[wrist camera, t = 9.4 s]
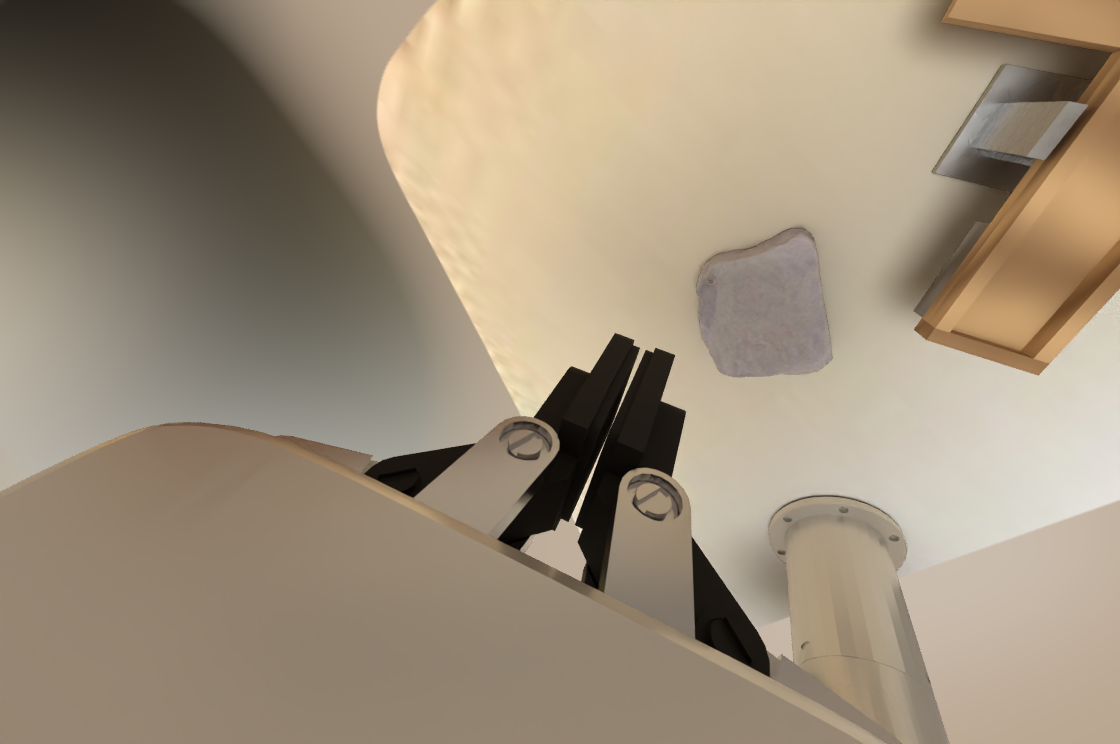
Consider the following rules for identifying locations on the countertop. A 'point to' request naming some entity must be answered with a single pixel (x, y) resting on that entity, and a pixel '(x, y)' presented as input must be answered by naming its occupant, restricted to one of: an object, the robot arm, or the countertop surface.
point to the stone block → (765, 308)
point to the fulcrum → (1013, 126)
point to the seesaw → (1040, 211)
